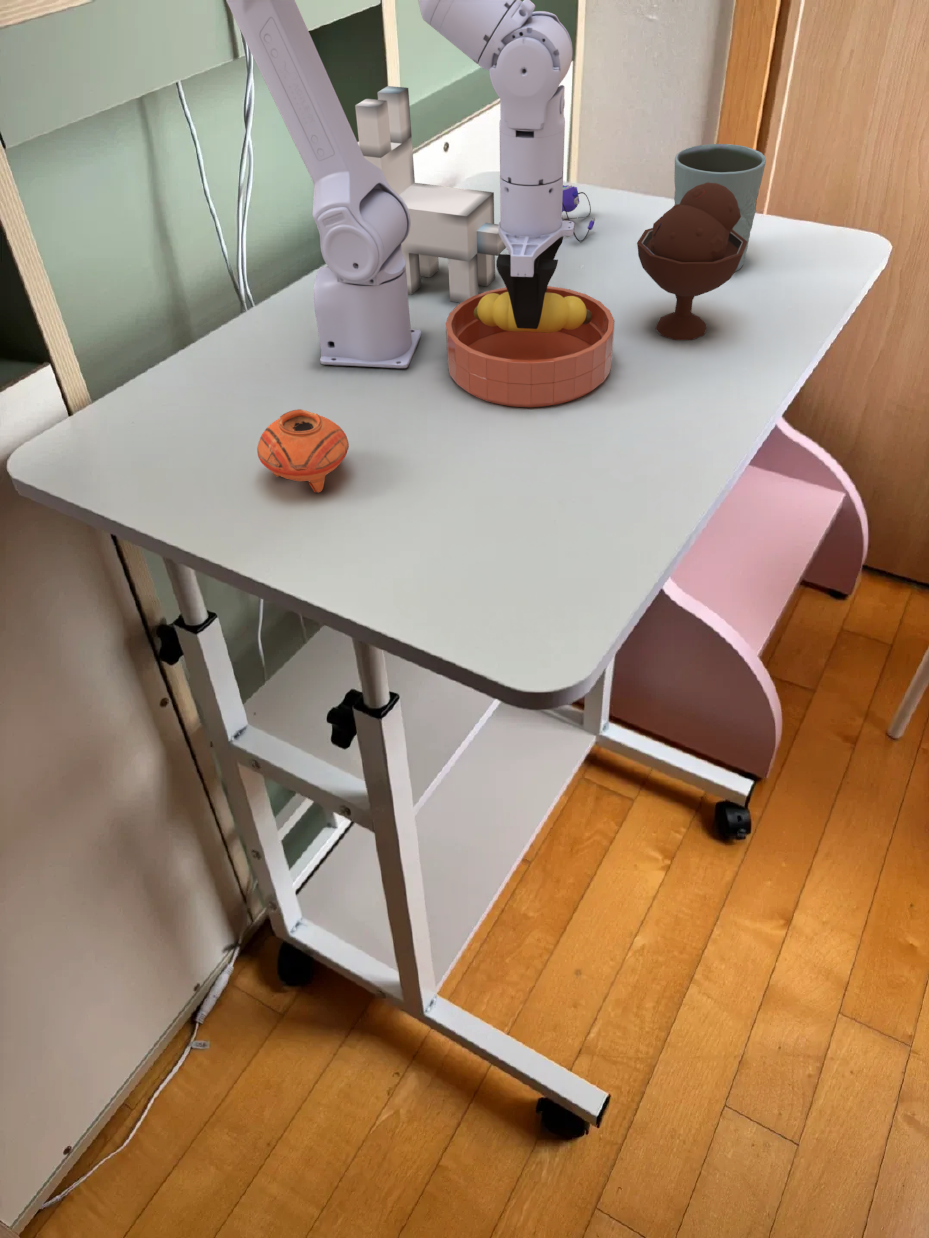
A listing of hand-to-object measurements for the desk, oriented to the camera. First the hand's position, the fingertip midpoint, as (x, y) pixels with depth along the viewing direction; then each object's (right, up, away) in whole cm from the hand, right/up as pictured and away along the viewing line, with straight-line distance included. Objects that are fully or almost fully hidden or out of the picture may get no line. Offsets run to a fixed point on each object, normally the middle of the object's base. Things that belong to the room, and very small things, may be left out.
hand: (529, 317), depth 96 cm
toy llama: (-10, +10, +19) cm, 24 cm away
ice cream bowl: (+17, +1, +9) cm, 19 cm away
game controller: (+7, +21, +30) cm, 37 cm away
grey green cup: (+23, +13, +21) cm, 34 cm away
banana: (0, -1, +1) cm, 1 cm away
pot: (-21, -18, -9) cm, 29 cm away
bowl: (0, -4, +4) cm, 6 cm away
